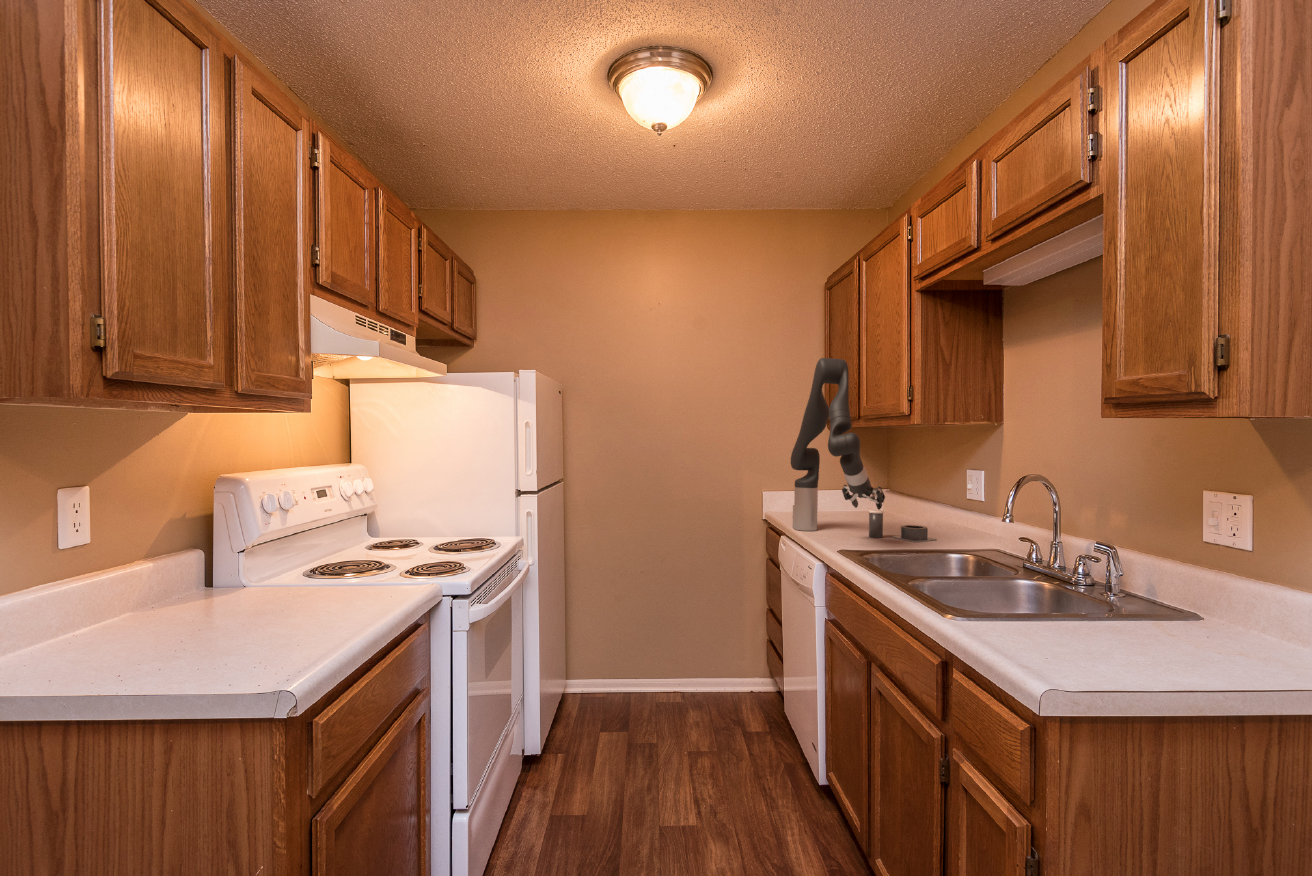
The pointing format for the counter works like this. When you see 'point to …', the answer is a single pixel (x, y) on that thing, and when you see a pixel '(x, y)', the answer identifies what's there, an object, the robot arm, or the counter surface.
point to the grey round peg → (876, 523)
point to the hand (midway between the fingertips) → (868, 506)
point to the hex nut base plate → (914, 533)
